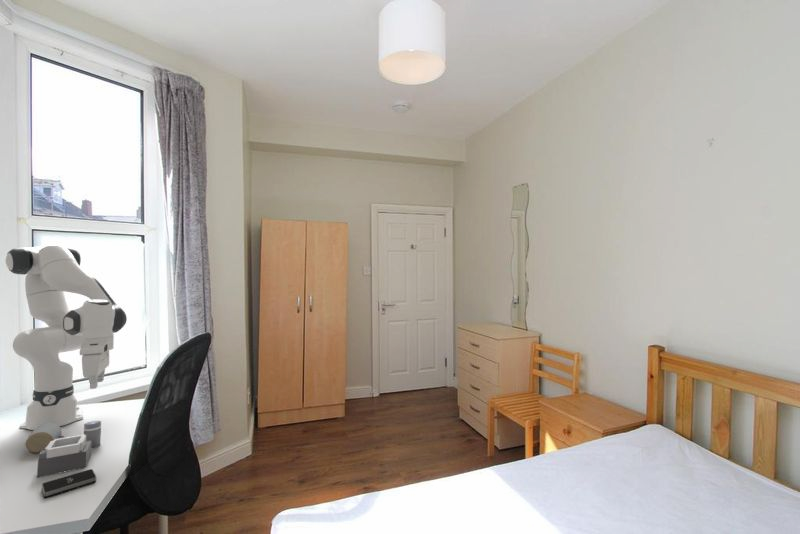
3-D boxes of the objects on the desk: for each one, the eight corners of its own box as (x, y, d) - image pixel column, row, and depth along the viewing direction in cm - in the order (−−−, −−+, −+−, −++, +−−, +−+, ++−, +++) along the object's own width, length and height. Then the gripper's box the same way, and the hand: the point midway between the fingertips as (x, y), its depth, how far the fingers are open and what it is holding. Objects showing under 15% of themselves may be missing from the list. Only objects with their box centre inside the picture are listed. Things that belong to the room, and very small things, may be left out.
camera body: (46, 464, 116) (47, 440, 116) (90, 455, 122) (91, 432, 122) (37, 477, 108) (38, 451, 108) (85, 467, 114) (86, 443, 114)
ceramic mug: (22, 456, 120) (24, 433, 121) (32, 446, 128) (33, 424, 128) (65, 450, 126) (66, 427, 126) (71, 440, 133) (73, 419, 133)
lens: (84, 445, 129) (85, 421, 129) (101, 442, 132) (102, 419, 132) (81, 450, 125) (82, 426, 125) (99, 447, 128) (100, 423, 128)
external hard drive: (96, 484, 106) (96, 477, 106) (43, 501, 98) (43, 493, 98) (91, 475, 111) (92, 468, 111) (40, 490, 102) (41, 483, 102)
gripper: (93, 342, 137) (92, 379, 137) (78, 350, 119) (77, 393, 119) (114, 340, 140) (114, 377, 140) (102, 348, 122) (101, 390, 122)
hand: (97, 384), depth 129 cm, fingers open, 8 cm apart
